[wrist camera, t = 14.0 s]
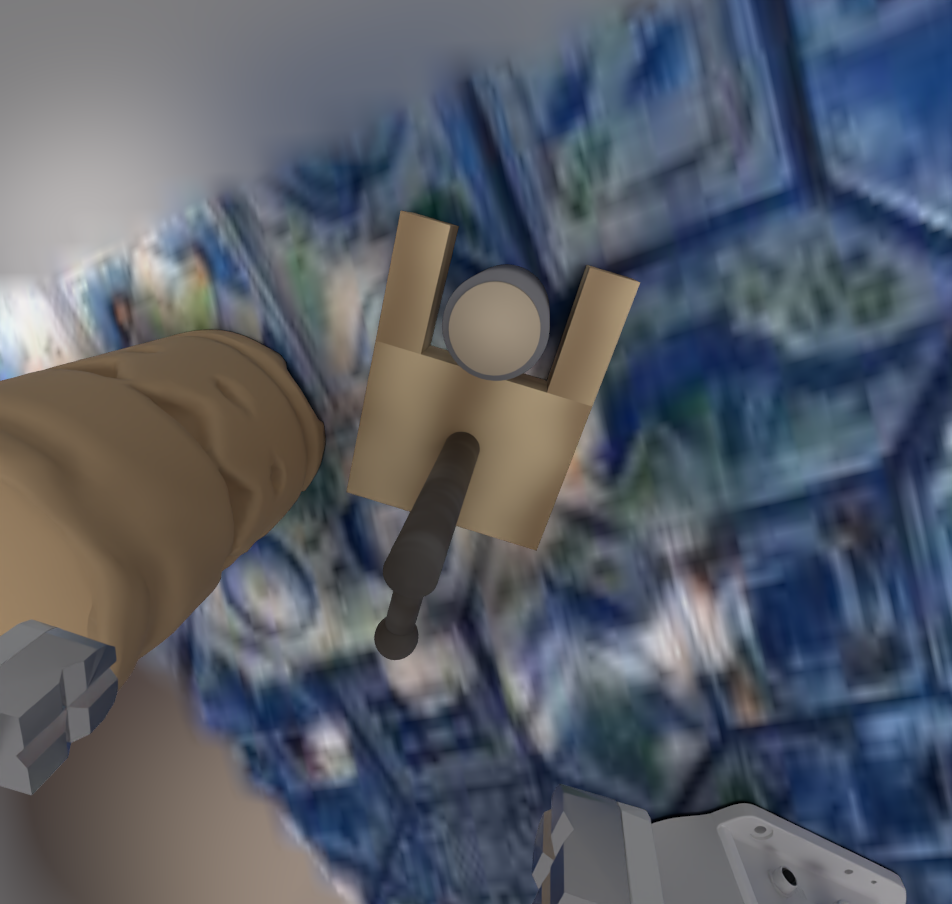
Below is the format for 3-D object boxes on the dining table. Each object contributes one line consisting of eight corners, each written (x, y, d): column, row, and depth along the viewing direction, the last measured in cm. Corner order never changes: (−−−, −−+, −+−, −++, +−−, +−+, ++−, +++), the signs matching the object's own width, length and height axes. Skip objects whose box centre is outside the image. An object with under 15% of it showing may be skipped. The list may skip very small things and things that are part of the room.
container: (209, 282, 30) (-199, 338, 14) (365, 436, 33) (179, 640, 16) (106, 417, 35) (-296, 582, 18) (251, 543, 37) (13, 790, 21)
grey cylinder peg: (564, 328, 29) (568, 353, 23) (488, 368, 30) (473, 401, 24) (523, 246, 27) (517, 249, 21) (446, 292, 29) (419, 308, 23)
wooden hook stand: (632, 278, 27) (712, 319, 14) (535, 532, 34) (527, 725, 20) (413, 212, 27) (285, 190, 14) (359, 478, 34) (237, 634, 21)
